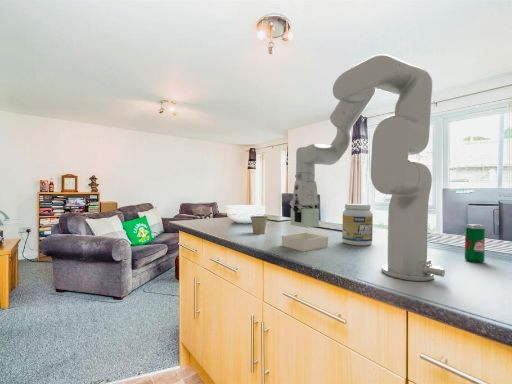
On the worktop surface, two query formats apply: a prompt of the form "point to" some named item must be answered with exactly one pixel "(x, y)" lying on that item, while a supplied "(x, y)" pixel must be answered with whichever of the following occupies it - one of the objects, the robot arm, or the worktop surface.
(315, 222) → the block
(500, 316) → the worktop surface
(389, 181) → the robot arm
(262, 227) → the flower pot
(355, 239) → the supplement tub
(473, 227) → the soda can
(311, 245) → the tray
